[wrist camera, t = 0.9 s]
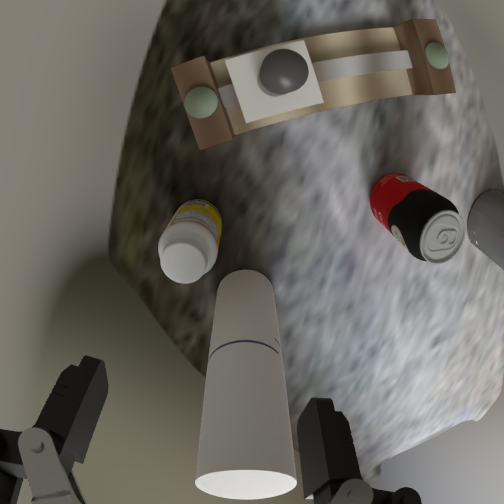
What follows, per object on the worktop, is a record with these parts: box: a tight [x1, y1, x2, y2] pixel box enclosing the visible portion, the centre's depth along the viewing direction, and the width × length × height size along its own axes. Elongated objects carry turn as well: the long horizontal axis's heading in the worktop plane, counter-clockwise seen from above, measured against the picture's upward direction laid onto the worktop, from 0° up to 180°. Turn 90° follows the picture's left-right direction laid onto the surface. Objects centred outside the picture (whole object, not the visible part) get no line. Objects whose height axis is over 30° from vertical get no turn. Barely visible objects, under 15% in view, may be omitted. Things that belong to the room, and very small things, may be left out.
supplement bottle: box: [158, 199, 222, 284], centre depth 30 cm, size 6×6×10 cm
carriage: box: [225, 40, 324, 123], centre depth 21 cm, size 7×6×10 cm
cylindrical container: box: [195, 270, 297, 499], centre depth 28 cm, size 7×7×25 cm
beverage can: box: [370, 173, 465, 264], centre depth 28 cm, size 6×6×12 cm
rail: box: [171, 19, 456, 150], centre depth 25 cm, size 26×8×6 cm, turn 107°
